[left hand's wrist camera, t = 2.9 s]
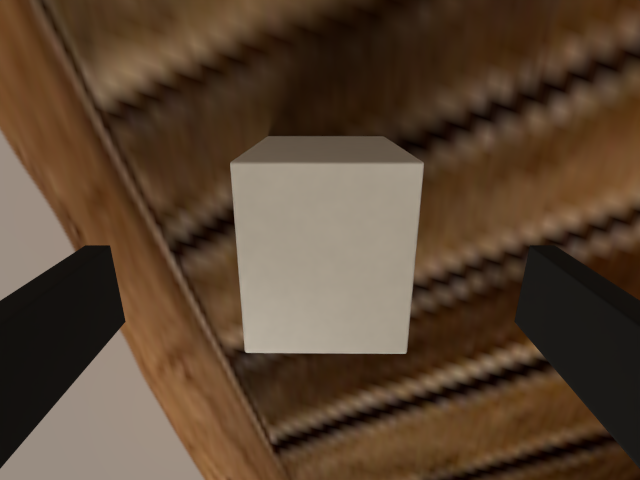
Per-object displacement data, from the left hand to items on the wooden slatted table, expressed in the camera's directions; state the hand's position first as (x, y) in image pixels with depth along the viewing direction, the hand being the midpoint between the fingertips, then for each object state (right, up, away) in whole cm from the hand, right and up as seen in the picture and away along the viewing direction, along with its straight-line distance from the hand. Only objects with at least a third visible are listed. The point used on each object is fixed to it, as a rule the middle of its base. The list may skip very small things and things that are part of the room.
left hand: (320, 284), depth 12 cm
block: (0, +4, +10) cm, 11 cm away
